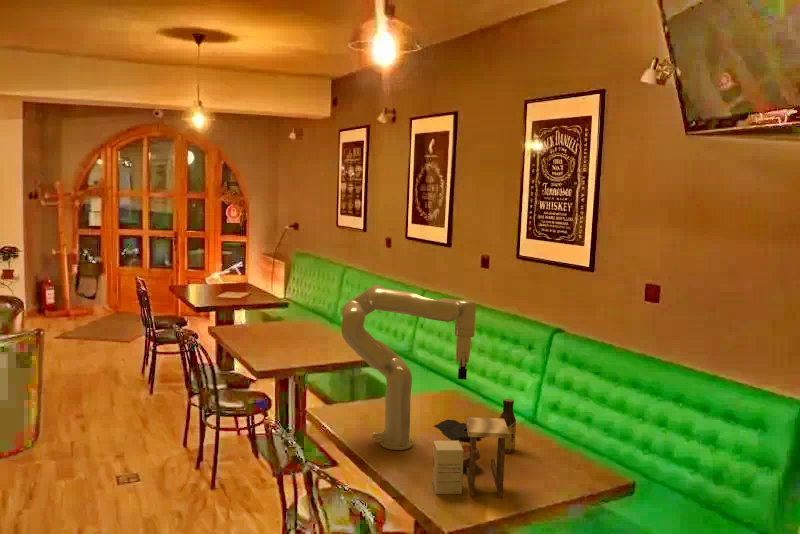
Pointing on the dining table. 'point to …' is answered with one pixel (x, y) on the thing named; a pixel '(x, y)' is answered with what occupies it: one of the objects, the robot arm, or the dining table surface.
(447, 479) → the supplement box
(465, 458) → the tin
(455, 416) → the dining table surface
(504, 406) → the sauce bottle
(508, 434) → the miniature wooden stool
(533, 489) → the dining table surface
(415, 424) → the dining table surface
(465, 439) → the dark slate chunk
